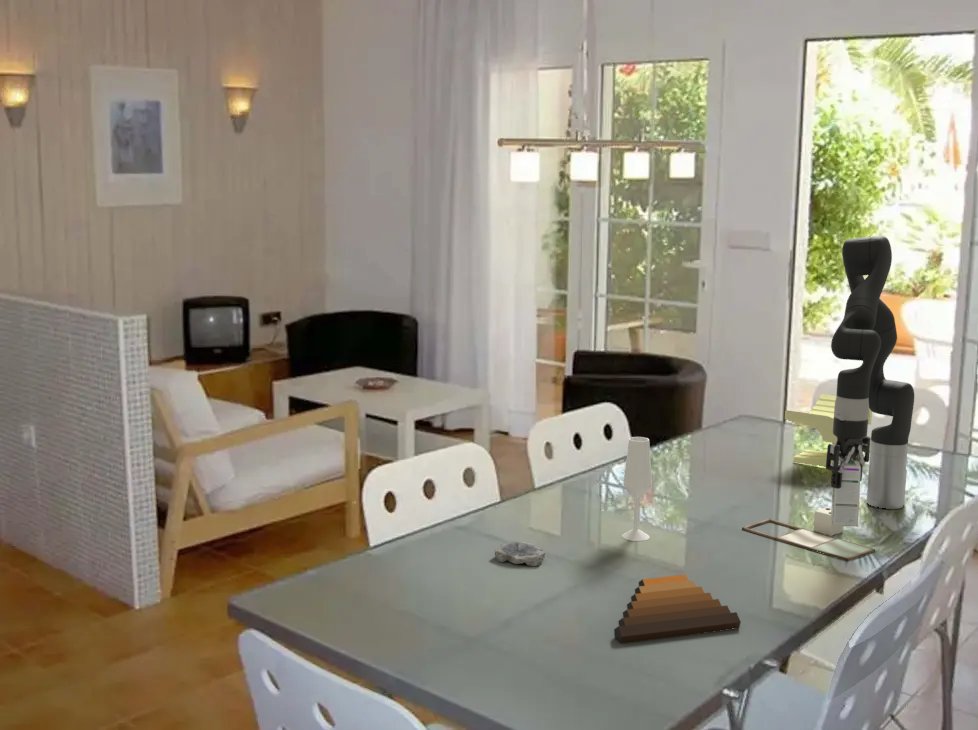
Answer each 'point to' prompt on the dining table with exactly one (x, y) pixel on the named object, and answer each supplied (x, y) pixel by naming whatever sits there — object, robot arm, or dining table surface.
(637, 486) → the champagne flute
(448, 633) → the dining table surface
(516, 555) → the grey stone dish
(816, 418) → the slatted curved stool
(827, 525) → the die
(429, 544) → the dining table surface
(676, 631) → the pan flute
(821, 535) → the board
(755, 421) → the dining table surface
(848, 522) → the syrup box
